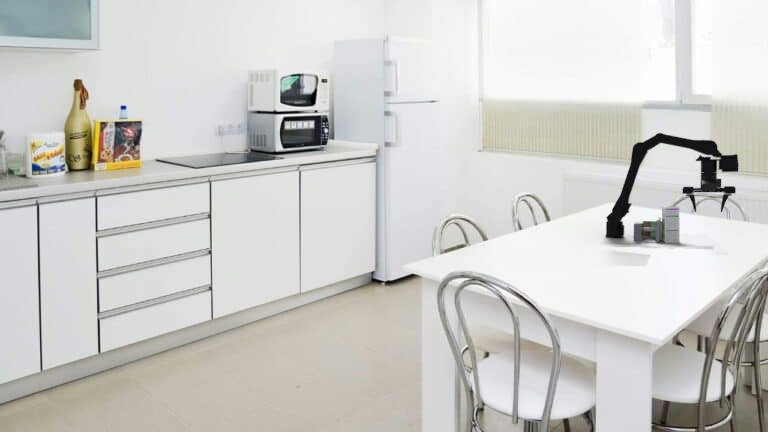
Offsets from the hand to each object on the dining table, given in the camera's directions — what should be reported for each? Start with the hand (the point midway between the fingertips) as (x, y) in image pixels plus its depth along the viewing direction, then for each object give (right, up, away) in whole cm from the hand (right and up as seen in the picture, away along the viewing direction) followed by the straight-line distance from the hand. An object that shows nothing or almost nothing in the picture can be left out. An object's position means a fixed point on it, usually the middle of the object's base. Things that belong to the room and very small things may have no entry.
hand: (708, 212), depth 265 cm
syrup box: (-13, -12, +5) cm, 19 cm away
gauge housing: (-20, -12, +10) cm, 25 cm away
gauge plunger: (-20, -11, +10) cm, 25 cm away
